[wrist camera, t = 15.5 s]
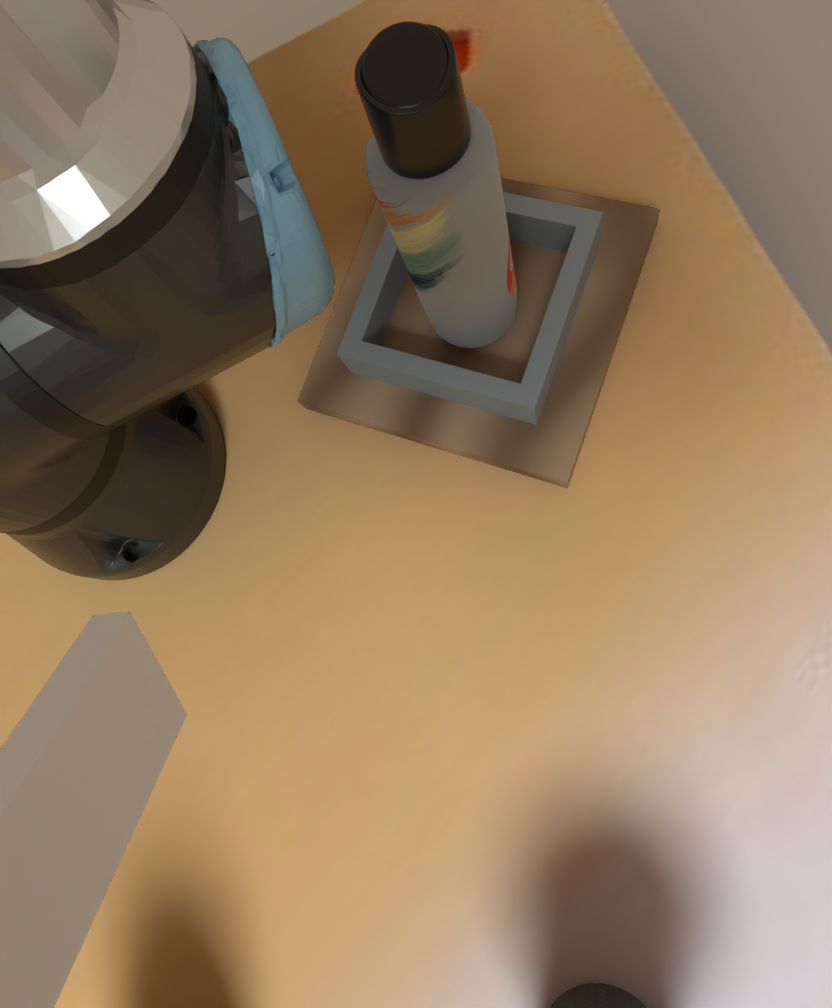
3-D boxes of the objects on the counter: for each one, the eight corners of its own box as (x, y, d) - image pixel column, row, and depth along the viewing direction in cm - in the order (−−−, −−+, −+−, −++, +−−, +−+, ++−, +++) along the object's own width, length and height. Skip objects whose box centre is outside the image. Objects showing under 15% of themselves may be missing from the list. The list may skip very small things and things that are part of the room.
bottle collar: (351, 372, 46) (336, 354, 43) (416, 201, 47) (406, 172, 44) (536, 425, 43) (534, 409, 40) (600, 240, 44) (603, 211, 41)
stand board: (305, 408, 48) (297, 400, 46) (397, 171, 50) (392, 157, 48) (567, 487, 43) (567, 482, 42) (657, 223, 45) (660, 208, 44)
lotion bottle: (503, 254, 45) (454, -36, 26) (530, 332, 44) (500, 87, 25) (418, 285, 46) (311, 27, 27) (443, 363, 45) (348, 149, 26)
